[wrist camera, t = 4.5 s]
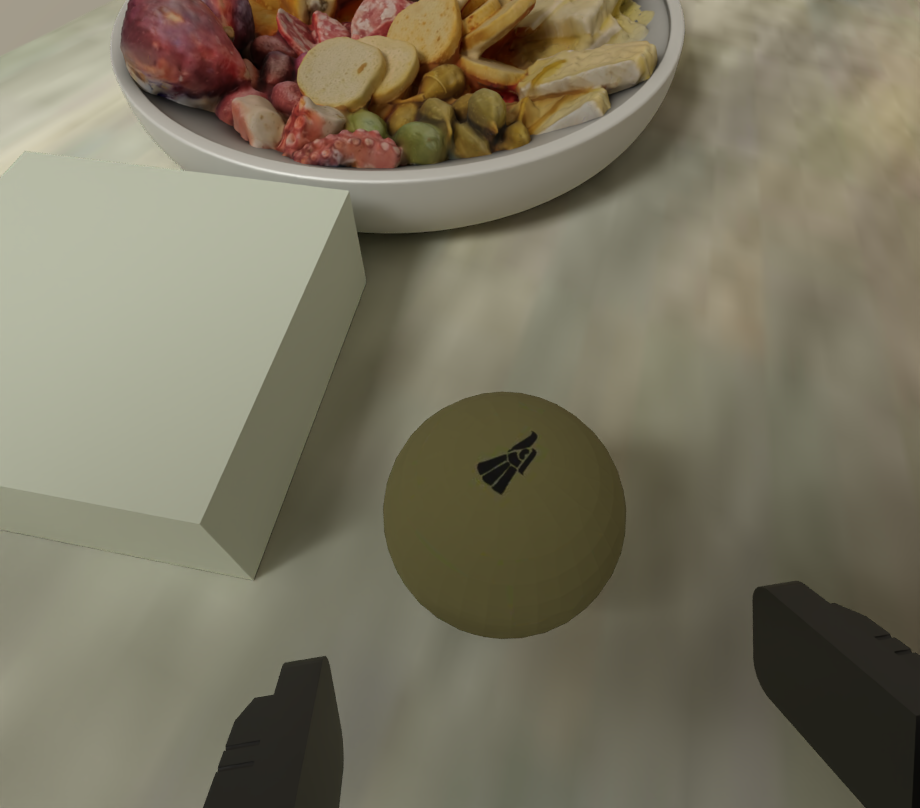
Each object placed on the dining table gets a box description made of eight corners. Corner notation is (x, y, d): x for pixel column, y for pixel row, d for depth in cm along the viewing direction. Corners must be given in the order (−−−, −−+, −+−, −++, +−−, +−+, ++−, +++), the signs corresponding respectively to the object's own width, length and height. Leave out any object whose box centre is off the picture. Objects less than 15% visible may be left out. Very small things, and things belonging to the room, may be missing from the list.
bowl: (495, -57, 48) (500, -193, 42) (772, 149, 34) (846, -9, 27) (103, 41, 41) (33, -106, 34) (245, 361, 26) (171, 213, 20)
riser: (-111, 507, 22) (-244, 439, 18) (87, 242, 30) (25, 150, 26) (253, 580, 21) (199, 524, 17) (366, 281, 28) (348, 190, 24)
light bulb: (541, 721, 18) (604, 653, 10) (377, 640, 20) (312, 520, 11) (598, 555, 21) (685, 393, 13) (451, 494, 22) (442, 310, 14)
